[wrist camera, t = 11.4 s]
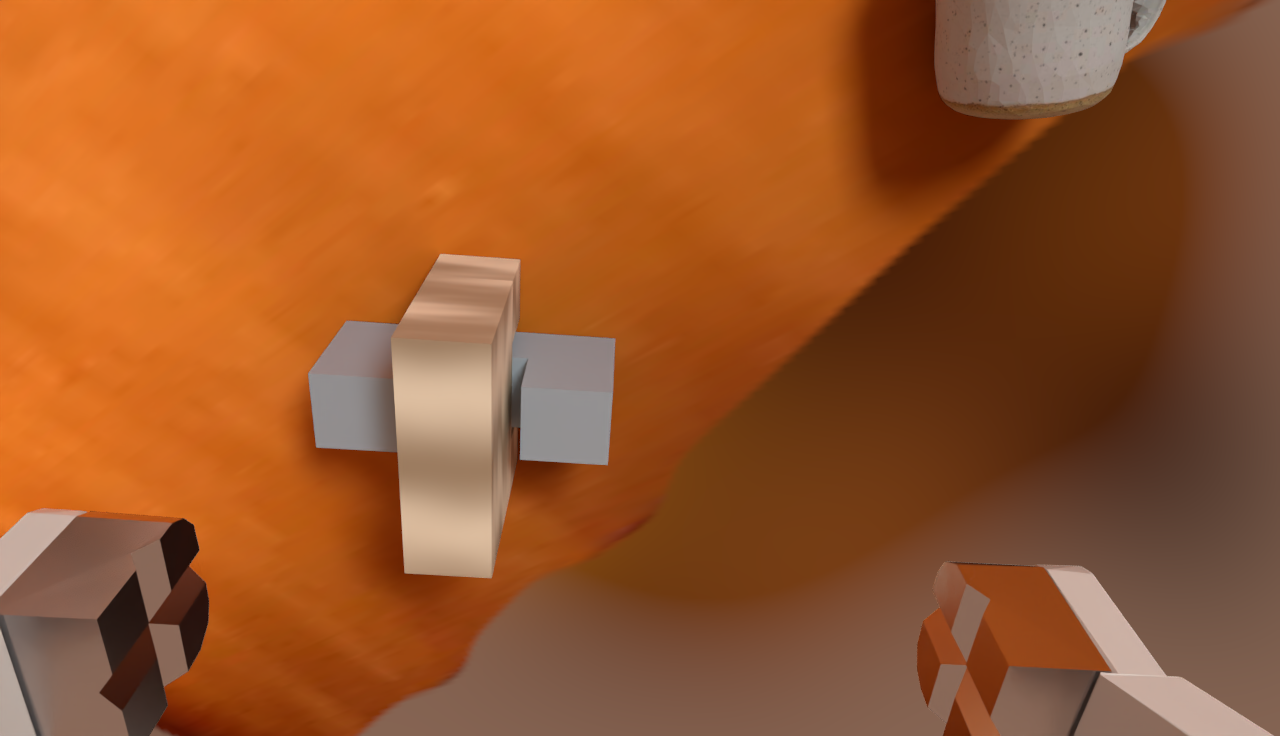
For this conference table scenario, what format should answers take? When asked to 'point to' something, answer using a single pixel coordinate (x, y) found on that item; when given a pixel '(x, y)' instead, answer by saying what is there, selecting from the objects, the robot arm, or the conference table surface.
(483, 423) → the wooden notched block
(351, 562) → the conference table surface
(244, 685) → the conference table surface
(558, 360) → the grey notched block
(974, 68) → the ceramic mug
